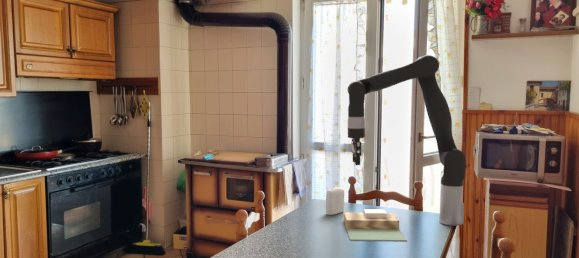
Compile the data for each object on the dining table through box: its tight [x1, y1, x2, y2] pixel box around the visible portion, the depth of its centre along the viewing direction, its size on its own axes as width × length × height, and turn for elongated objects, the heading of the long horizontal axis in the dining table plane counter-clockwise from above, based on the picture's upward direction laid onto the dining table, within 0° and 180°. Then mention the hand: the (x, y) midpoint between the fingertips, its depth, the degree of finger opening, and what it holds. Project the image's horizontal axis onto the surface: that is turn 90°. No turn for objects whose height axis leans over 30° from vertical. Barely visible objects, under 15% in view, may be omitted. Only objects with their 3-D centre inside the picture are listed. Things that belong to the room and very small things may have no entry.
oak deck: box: [343, 211, 400, 230], centre depth 189 cm, size 22×12×4 cm, turn 88°
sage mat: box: [346, 229, 408, 242], centre depth 176 cm, size 22×13×1 cm, turn 88°
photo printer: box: [325, 186, 345, 216], centre depth 208 cm, size 10×4×12 cm, turn 134°
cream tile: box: [363, 208, 388, 218], centre depth 189 cm, size 9×6×2 cm, turn 88°
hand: (356, 163), depth 192 cm, fingers open, 8 cm apart
